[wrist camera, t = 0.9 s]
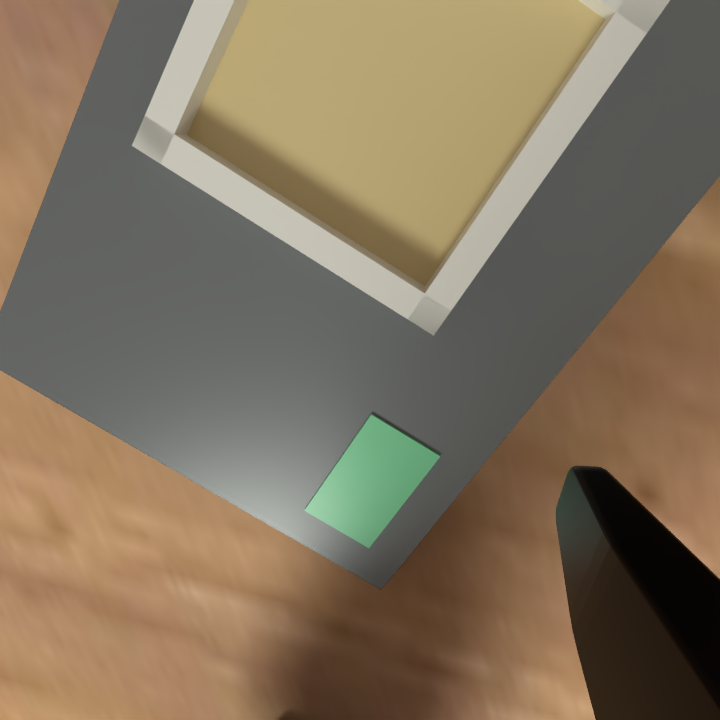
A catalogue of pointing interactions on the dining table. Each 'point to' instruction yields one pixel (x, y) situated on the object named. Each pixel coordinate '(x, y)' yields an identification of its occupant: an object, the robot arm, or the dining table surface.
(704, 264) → the dining table surface
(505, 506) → the dining table surface
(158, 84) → the tester board
